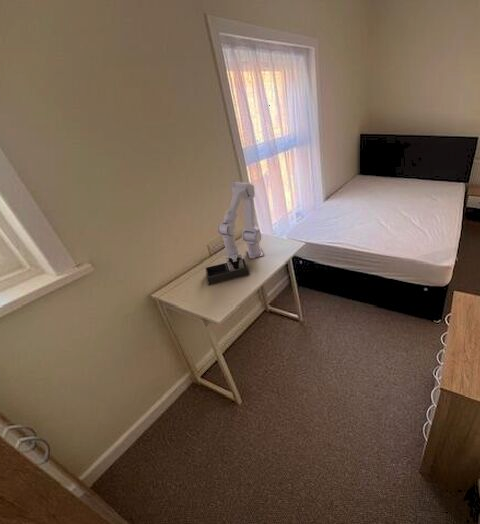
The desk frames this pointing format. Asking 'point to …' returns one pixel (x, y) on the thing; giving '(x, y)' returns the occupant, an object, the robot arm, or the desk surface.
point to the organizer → (224, 273)
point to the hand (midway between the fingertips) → (236, 266)
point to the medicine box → (232, 265)
